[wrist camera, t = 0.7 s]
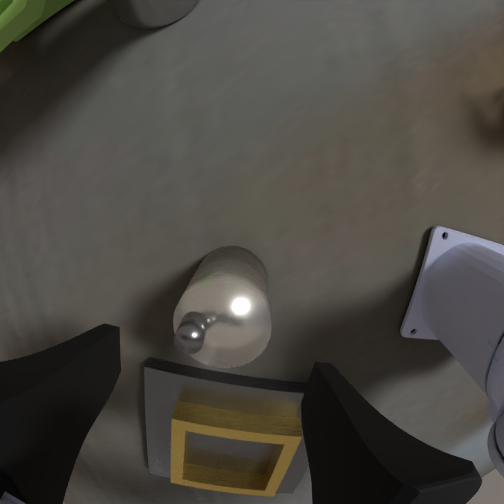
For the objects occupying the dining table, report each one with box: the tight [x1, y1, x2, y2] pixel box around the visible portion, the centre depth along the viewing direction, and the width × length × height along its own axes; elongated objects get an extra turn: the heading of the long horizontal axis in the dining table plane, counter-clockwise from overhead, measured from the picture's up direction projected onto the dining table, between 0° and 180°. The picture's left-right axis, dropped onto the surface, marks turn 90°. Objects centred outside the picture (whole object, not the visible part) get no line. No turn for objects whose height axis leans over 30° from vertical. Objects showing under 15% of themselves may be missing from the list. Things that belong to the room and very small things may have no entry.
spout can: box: [173, 246, 272, 368], centre depth 16 cm, size 4×4×8 cm
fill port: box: [144, 358, 309, 497], centre depth 22 cm, size 14×14×3 cm
